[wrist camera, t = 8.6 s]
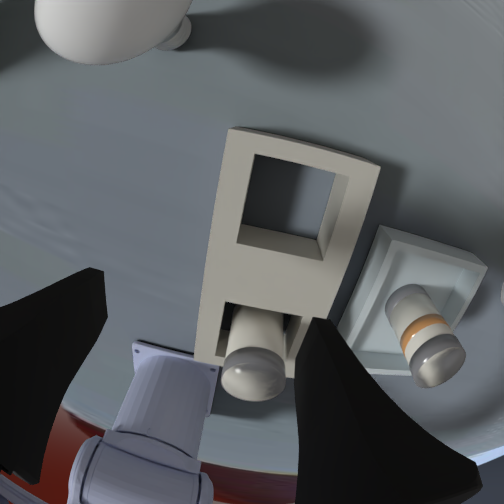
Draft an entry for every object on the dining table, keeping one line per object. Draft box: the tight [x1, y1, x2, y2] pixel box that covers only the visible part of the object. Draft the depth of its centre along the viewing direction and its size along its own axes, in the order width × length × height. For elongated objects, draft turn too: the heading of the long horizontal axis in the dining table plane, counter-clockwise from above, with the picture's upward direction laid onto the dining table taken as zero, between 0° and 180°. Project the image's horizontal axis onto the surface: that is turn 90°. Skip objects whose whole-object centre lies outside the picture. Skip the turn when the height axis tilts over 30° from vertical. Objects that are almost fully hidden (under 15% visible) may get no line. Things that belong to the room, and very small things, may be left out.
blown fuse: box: [385, 284, 466, 388], centre depth 18 cm, size 4×4×7 cm
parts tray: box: [337, 225, 488, 376], centre depth 20 cm, size 11×9×2 cm
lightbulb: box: [34, 0, 192, 65], centre depth 9 cm, size 6×6×11 cm
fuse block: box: [194, 126, 381, 378], centre depth 19 cm, size 16×8×3 cm, turn 169°
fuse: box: [221, 303, 286, 402], centre depth 19 cm, size 4×4×7 cm
